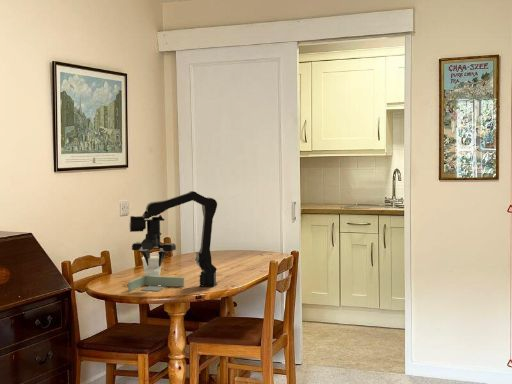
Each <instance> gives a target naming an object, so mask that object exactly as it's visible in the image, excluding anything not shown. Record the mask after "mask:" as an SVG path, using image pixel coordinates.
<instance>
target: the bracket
mask: <svg viewBox="0 0 512 384" xmlns="http://www.w3.org/2000/svg"><path fill="white" fill-rule="evenodd" d="M158 270H160V267H159V258H148V268H146V269H144V268H143V272H144V273H145V272H156V271H158Z"/></svg>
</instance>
